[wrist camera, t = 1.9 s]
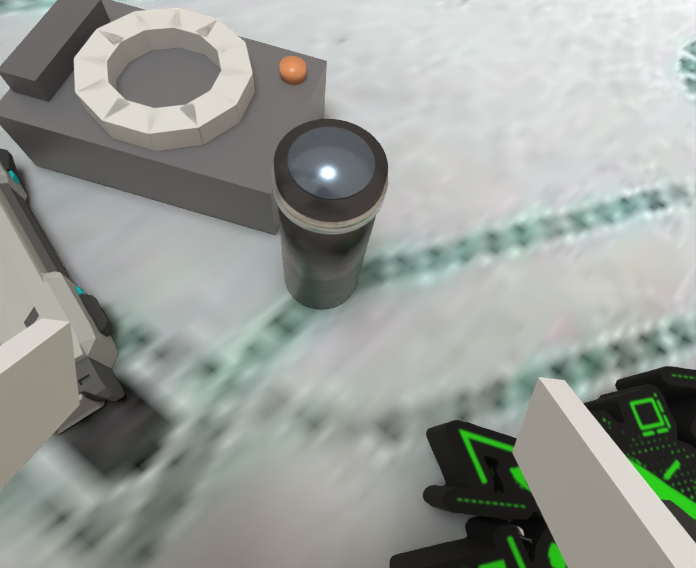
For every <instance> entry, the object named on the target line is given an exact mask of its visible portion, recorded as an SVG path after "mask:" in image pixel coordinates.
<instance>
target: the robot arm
mask: <svg viewBox="0 0 696 568" xmlns="http://www.w3.org/2000/svg"><path fill="white" fill-rule="evenodd" d="M79 405H80V403H79V394H78V386H77V377H76V368H75V359H74V350H73V341H72V332H71V324H70V322H69V321H60V320H52V319H43V318H41V319H40V320H38V321H37V322H35V323H34V324H32V325H31V326H29V327H28V328H26V329H25V330H23V331H22V332H20V333H19V334H17V335H16V336H14V337H13V338H11V339H10V340H8V341H7V342H5V343H4V344H2V345H1V346H0V491H1V490H2V488H3V487H4V486H5V485H6V484H7V483H8V482H9V481H10V480H11V479H12V478H13V477H14V475H15V474H16V473H17V472H18V471H19V470H20V469H21V468H22V467H23V466H24V465H25V464H26V462H27V461H28V460H29V459H30V458H31V457H32V456H33V455H34V454H35V453H36V452H37V451H38V449H39V448H40V447H41V446H42V445H43V444H44V443H45V442H46V441H47V440H48V439H49V438H50V436H51V435H52V434H53V433H54V432H55V431H56V430H57V429H58V428H59V427H60V426H61V424H62V423H63V422H64V421H65V420H66V419H67V418H68V417H69V416H70V415H71V414H72V413H73V411H74V410H75V409H76V408H77V407H78V406H79ZM512 453H513V455H514V457H515V459H516V461H517V463H518V465H519V467H520V469H521V471H522V473H523V476H524V478H525V480H526V482H527V484H528V486H529V488H530V490H531V492H532V494H533V496H534V498H535V501H536V503H537V505H538V507H539V509H540V511H541V513H542V515H543V517H544V519H545V521H546V523H547V525H548V528H549V530H550V532H551V534H552V536H553V538H554V540H555V542H556V544H557V546H558V548H559V550H560V552H561V555H562V557H563V559H564V561H565V563H566V565H567V567H568V568H696V520H695V519H693V518H692V517H691V516H690V515H688V514H687V513H686V512H685V511H683V510H682V509H681V508H680V507H679V506H677V505H676V504H675V503H674V502H672V501H671V500H664V499H660V498H659V497H658V496H657V495H656V493H655V492H654V491H653V490H652V488H651V487H650V486H649V485H648V483H647V482H646V481H645V480H644V478H643V477H642V476H641V475H640V474H639V472H638V471H637V470H636V469H635V467H634V466H633V465H632V464H631V462H630V461H629V460H628V459H627V457H626V456H625V455H624V454H623V452H622V451H621V450H620V449H619V447H618V446H617V445H616V444H615V442H614V441H613V440H612V439H611V438H610V436H609V435H608V434H607V433H606V431H605V430H604V429H603V428H602V426H601V425H600V424H599V423H598V421H597V420H596V419H595V418H594V416H593V415H592V414H591V413H590V411H589V410H588V409H587V408H586V406H585V405H584V404H583V403H582V402H581V400H580V399H579V398H578V397H577V395H576V394H575V393H574V392H573V390H572V389H571V388H570V387H569V385H568V384H567V383H566V382H565V380H558V379H549V378H541V377H538V380H537V383H536V386H535V389H534V392H533V395H532V397H531V400H530V403H529V406H528V409H527V412H526V415H525V417H524V420H523V423H522V426H521V429H520V432H519V435H518V437H517V440H516V443H515V446H514V449H513V452H512Z"/></svg>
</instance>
